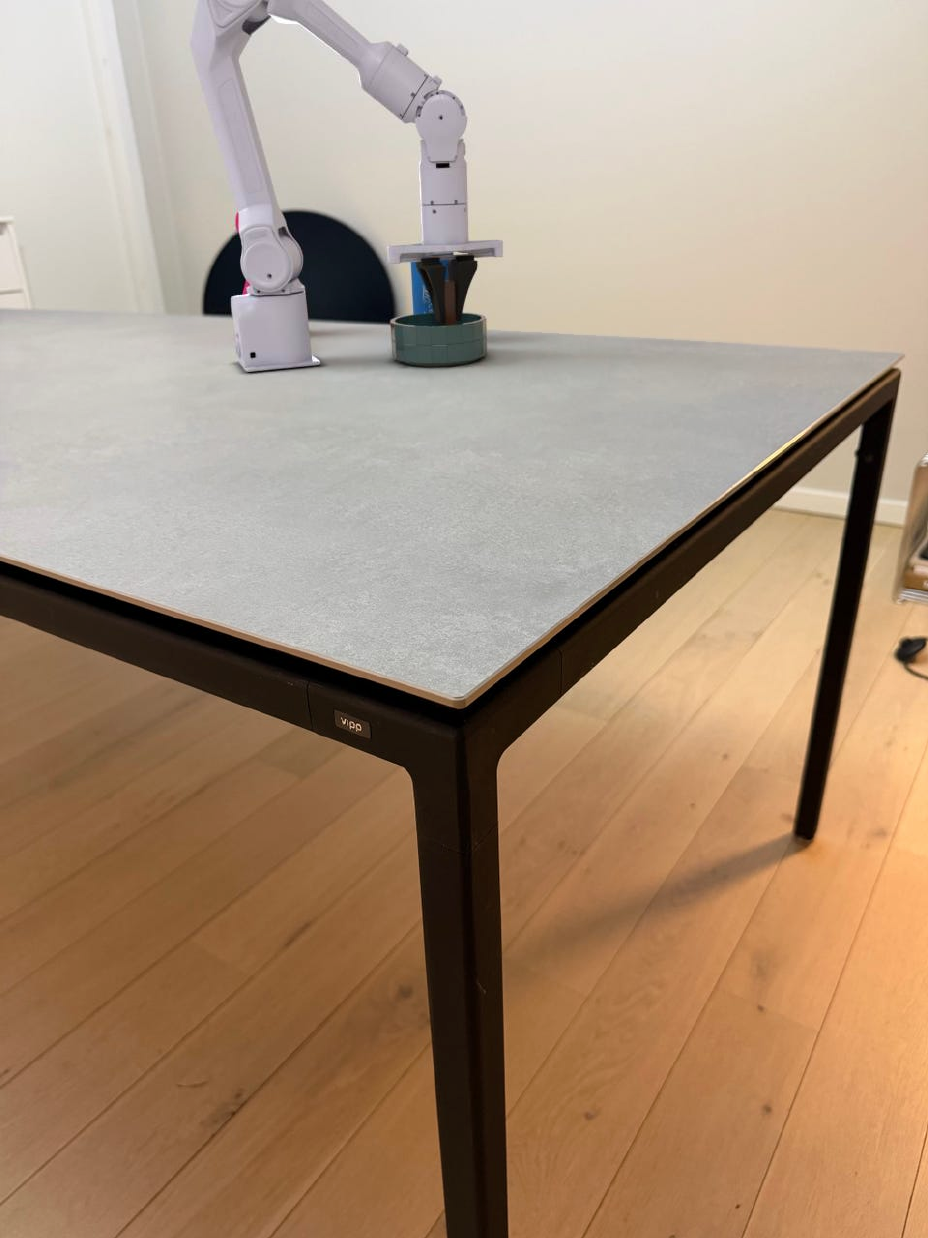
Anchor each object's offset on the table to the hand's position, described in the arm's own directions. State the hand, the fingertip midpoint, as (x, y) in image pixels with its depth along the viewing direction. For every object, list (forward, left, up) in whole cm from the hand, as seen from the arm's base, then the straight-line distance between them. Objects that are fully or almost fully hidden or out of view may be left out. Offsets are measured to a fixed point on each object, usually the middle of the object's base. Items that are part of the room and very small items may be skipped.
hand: (448, 320), depth 118 cm
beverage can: (+3, +13, -5) cm, 14 cm away
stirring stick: (0, 0, -3) cm, 3 cm away
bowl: (-1, 0, -5) cm, 5 cm away
